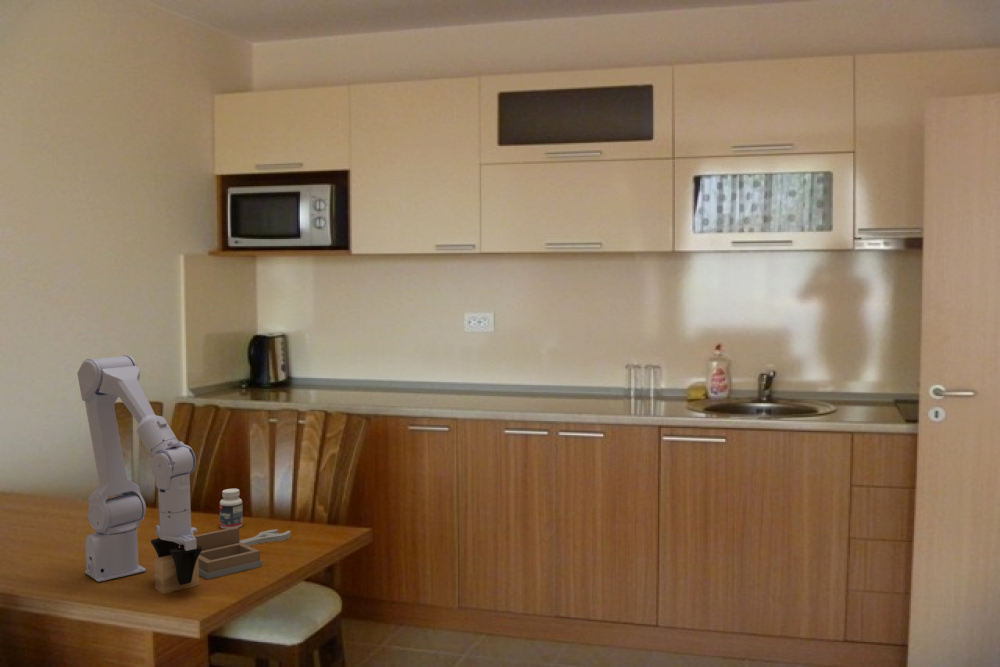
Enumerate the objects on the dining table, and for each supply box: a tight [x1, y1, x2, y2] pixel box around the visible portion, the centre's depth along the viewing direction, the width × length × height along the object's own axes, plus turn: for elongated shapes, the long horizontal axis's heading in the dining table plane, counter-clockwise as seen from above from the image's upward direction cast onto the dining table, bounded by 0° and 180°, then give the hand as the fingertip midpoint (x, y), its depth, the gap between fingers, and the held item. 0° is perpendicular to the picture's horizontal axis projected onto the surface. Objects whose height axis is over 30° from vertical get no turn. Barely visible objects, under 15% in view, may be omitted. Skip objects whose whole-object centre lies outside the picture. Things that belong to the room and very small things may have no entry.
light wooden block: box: [154, 555, 200, 595], centre depth 172 cm, size 7×4×6 cm, turn 132°
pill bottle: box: [219, 488, 244, 530], centre depth 214 cm, size 5×5×9 cm
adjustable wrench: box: [240, 528, 292, 547], centre depth 198 cm, size 25×6×2 cm, turn 134°
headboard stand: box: [194, 527, 263, 580], centre depth 184 cm, size 12×12×6 cm
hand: (177, 578), depth 172 cm, fingers open, 7 cm apart
